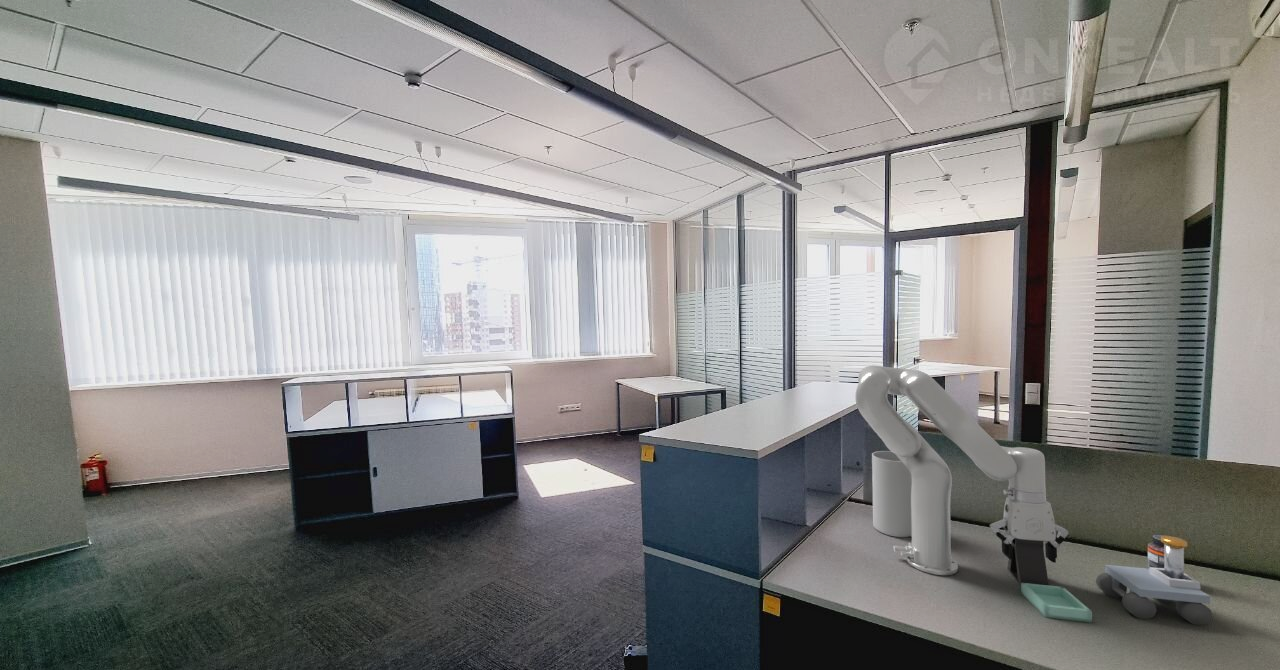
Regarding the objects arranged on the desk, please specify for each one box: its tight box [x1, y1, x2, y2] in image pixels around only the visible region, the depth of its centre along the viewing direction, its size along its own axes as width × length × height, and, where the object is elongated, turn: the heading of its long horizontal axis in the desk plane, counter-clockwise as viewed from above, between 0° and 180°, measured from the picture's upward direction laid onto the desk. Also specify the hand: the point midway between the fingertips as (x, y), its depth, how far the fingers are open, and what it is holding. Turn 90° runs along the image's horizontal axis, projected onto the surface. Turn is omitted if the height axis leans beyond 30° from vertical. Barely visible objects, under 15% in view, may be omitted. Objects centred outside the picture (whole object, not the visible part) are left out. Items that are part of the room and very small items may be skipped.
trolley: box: [1095, 564, 1213, 626], centre depth 108 cm, size 11×15×9 cm
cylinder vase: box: [871, 450, 912, 538], centre depth 152 cm, size 12×12×25 cm
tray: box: [1020, 583, 1093, 623], centre depth 109 cm, size 9×10×3 cm
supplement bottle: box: [1147, 534, 1164, 569], centre depth 119 cm, size 6×6×11 cm
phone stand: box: [1007, 538, 1050, 586], centre depth 121 cm, size 9×6×12 cm, turn 158°
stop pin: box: [1161, 535, 1188, 579], centre depth 107 cm, size 4×4×10 cm
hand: (1029, 558), depth 121 cm, fingers open, 9 cm apart
